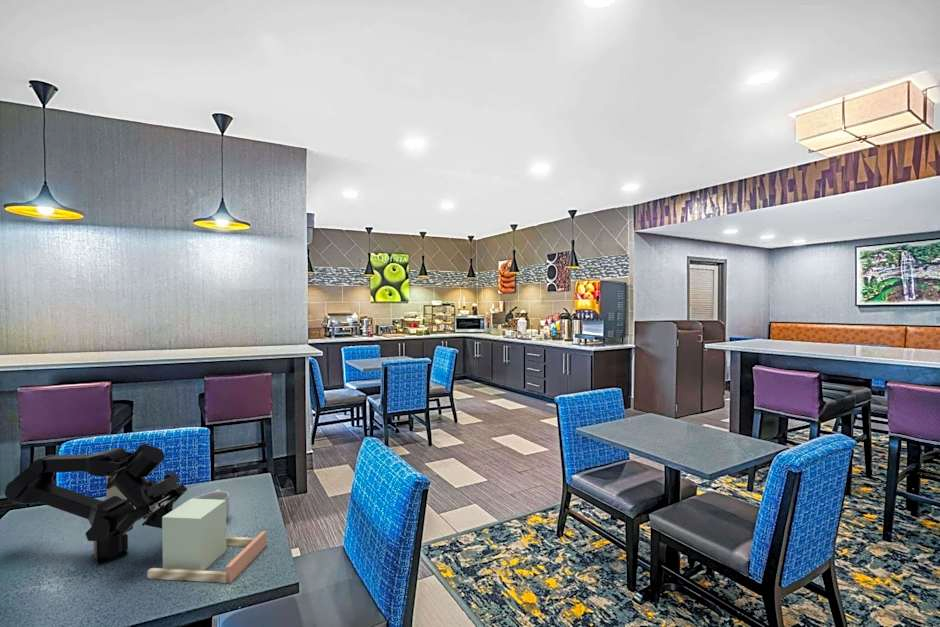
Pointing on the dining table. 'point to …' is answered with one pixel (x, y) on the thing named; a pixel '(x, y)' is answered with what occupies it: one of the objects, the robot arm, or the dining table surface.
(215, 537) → the sage block
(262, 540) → the guide chute
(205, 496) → the teacup
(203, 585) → the dining table surface
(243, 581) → the dining table surface
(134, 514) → the robot arm
